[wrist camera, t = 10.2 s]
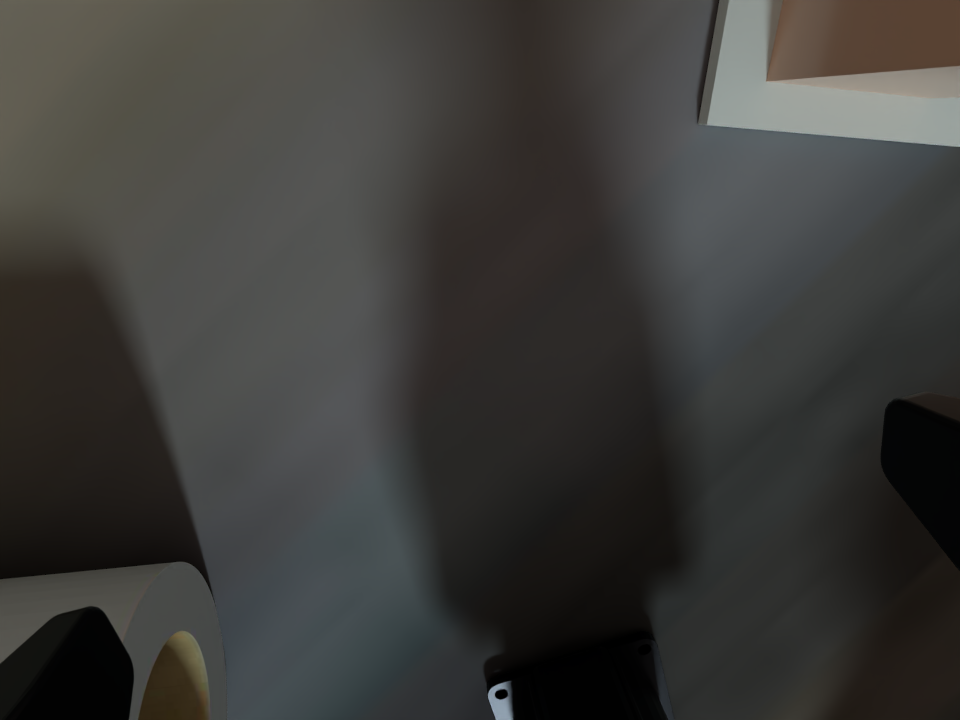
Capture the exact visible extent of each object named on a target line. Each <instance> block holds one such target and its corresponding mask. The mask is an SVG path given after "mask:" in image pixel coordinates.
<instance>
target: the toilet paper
mask: <svg viewBox="0 0 960 720" xmlns="http://www.w3.org/2000/svg"><path fill="white" fill-rule="evenodd" d="M88 606H95V607H98V608H100V609H101V610H103V611H104V613H105V614H106V615H107V617H108V619H109V620H110V622H111V624H112V626H113V627H114V629H115V631H116V633H117V634H118V636H119V638H120V640H121V641H122V643H123V645H124V646H125V648H126V650H127V652H128V653H129V655H130V658H131V660H132V663H133V668H134V686H133V694H132V702H131V709H130V717H129V720H227V682H226V667H225V656H224V647H223V640H222V635H221V630H220V625H219V620H218V615H217V610H216V607H215V603H214V600H213V597H212V594H211V592H210V589H209V587H208V585H207V583H206V581H205V579H204V578H203V576H202V575H201V574H200V572H199V571H198V570H197V569H196V568H195V567H194V566H192V565H191V564H189V563H186V562H172V563H162V564H151V565H141V566H131V567H121V568H111V569H100V570H90V571H80V572H70V573H60V574H50V575H39V576H29V577H19V578H9V579H0V663H1V662H2V661H4V660H5V659H6V658H7V657H8V656H9V655H10V654H11V653H13V652H14V651H15V650H16V649H17V648H18V647H19V646H20V645H21V644H23V643H24V642H25V641H26V640H27V639H28V638H29V637H30V636H32V635H33V634H34V633H35V632H36V631H37V630H38V629H39V628H41V627H42V626H43V625H44V624H45V623H46V622H47V621H48V620H50V619H51V618H52V617H54V616H56V615H58V614H61V613H65V612H69V611H72V610H76V609H80V608H84V607H88Z"/></svg>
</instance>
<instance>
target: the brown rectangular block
mask: <svg viewBox="0 0 960 720" xmlns="http://www.w3.org/2000/svg"><path fill="white" fill-rule="evenodd" d="M766 82H775V83H785V84H795V85H805V86H814V87H824V88H834V89H844V90H853V91H863V92H873V93H883V94H892V95H902V96H912V97H922V98H960V0H783V2H782V7H781V12H780V17H779V22H778V26H777V31H776V36H775V41H774V46H773V51H772V55H771V60H770V65H769V70H768V75H767V80H766Z"/></svg>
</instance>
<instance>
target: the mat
mask: <svg viewBox="0 0 960 720" xmlns="http://www.w3.org/2000/svg"><path fill="white" fill-rule="evenodd" d="M782 2H783V0H719V6H718V12H717V18H716V23H715V29H714V35H713V41H712V46H711V52H710V58H709V63H708V69H707V75H706V81H705V86H704V92H703V98H702V104H701V109H700V115H699V121H698V124H699V125H711V126H723V127H734V128H746V129H757V130H769V131H781V132H792V133H804V134H815V135H827V136H839V137H850V138H862V139H874V140H885V141H897V142H908V143H920V144H932V145H943V146H957V147H960V98H922V97H912V96H902V95H892V94H883V93H873V92H863V91H853V90H844V89H834V88H824V87H814V86H805V85H795V84H785V83H775V82H766V80H767V75H768V70H769V65H770V60H771V55H772V51H773V46H774V41H775V36H776V31H777V26H778V22H779V17H780V12H781V7H782Z"/></svg>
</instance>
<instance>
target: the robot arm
mask: <svg viewBox="0 0 960 720" xmlns="http://www.w3.org/2000/svg"><path fill="white" fill-rule="evenodd" d="M881 465H882V469H883V472H884V474H885V476H886V477H887V479H888V480H889V482H890V483H891V484H892V486H893V487H894V488H895V490H896V491H897V492H898V493H899V495H900V496H901V497H902V498H903V500H904V501H905V502H906V504H907V505H908V506H909V507H910V509H911V510H912V511H913V512H914V514H915V515H916V516H917V518H918V519H919V520H920V521H921V523H922V524H923V525H924V526H925V528H926V529H927V530H928V531H929V533H930V534H931V535H932V537H933V538H934V539H935V540H936V542H937V543H938V544H939V545H940V547H941V548H942V549H943V551H944V552H945V553H946V554H947V556H948V557H949V558H950V559H951V561H952V562H953V563H954V565H955V566H956V567H957V568H958V570H959V571H960V398H956V397H951V396H946V395H942V394H937V393H932V392H920V393H915V394H912V395H908V396H904V397H900V398H896V399H894V400H892V401H891V402H889V404H888V405H887V407H886V409H885V415H884V425H883V435H882V446H881ZM643 644H646V645H645V646H643V647H640V646H641V645H643ZM133 686H134V668H133V663H132V660H131V658H130V655H129V653H128V652H127V650H126V648H125V646H124V645H123V643H122V641H121V640H120V638H119V636H118V634H117V633H116V631H115V629H114V627H113V626H112V624H111V622H110V620H109V619H108V617H107V615H106V614H105V613H104V611H103V610H101V609H100V608H98V607H95V606H88V607H84V608H80V609H76V610H72V611H69V612H65V613H61V614H58V615H56V616H54V617H52V618H51V619H50V620H48V621H47V622H46V623H45V624H44V625H43V626H42V627H41V628H39V629H38V630H37V631H36V632H35V633H34V634H33V635H32V636H30V637H29V638H28V639H27V640H26V641H25V642H24V643H23V644H21V645H20V646H19V647H18V648H17V649H16V650H15V651H14V652H13V653H11V654H10V655H9V656H8V657H7V658H6V659H5V660H4V661H2V662H1V663H0V720H129V717H130V709H131V702H132V694H133ZM499 689H504V690H502V691H497V690H499ZM487 693H488V699H489V701H490V704H491V707H492V710H493V712H494V715H495V718H496V720H674V716H673V712H672V707H671V703H670V698H669V694H668V690H667V685H666V681H665V677H664V672H663V668H662V664H661V659H660V655H659V651H658V646H657V644H656V642H655V640H654V638H653V636H652V634H650V633H649V632H646V631H640V632H636V633H633V634H629V635H626V636H623V637H620V638H616V639H613V640H610V641H607V642H604V643H600V644H597V645H594V646H591V647H588V648H584V649H581V650H578V651H575V652H572V653H568V654H565V655H562V656H559V657H556V658H552V659H549V660H546V661H543V662H540V663H536V664H533V665H530V666H527V667H523V668H520V669H517V670H514V671H511V672H507V673H504V674H501V675H498V676H495V677H493V678H491V679H490V680H489V681H488V684H487Z"/></svg>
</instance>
